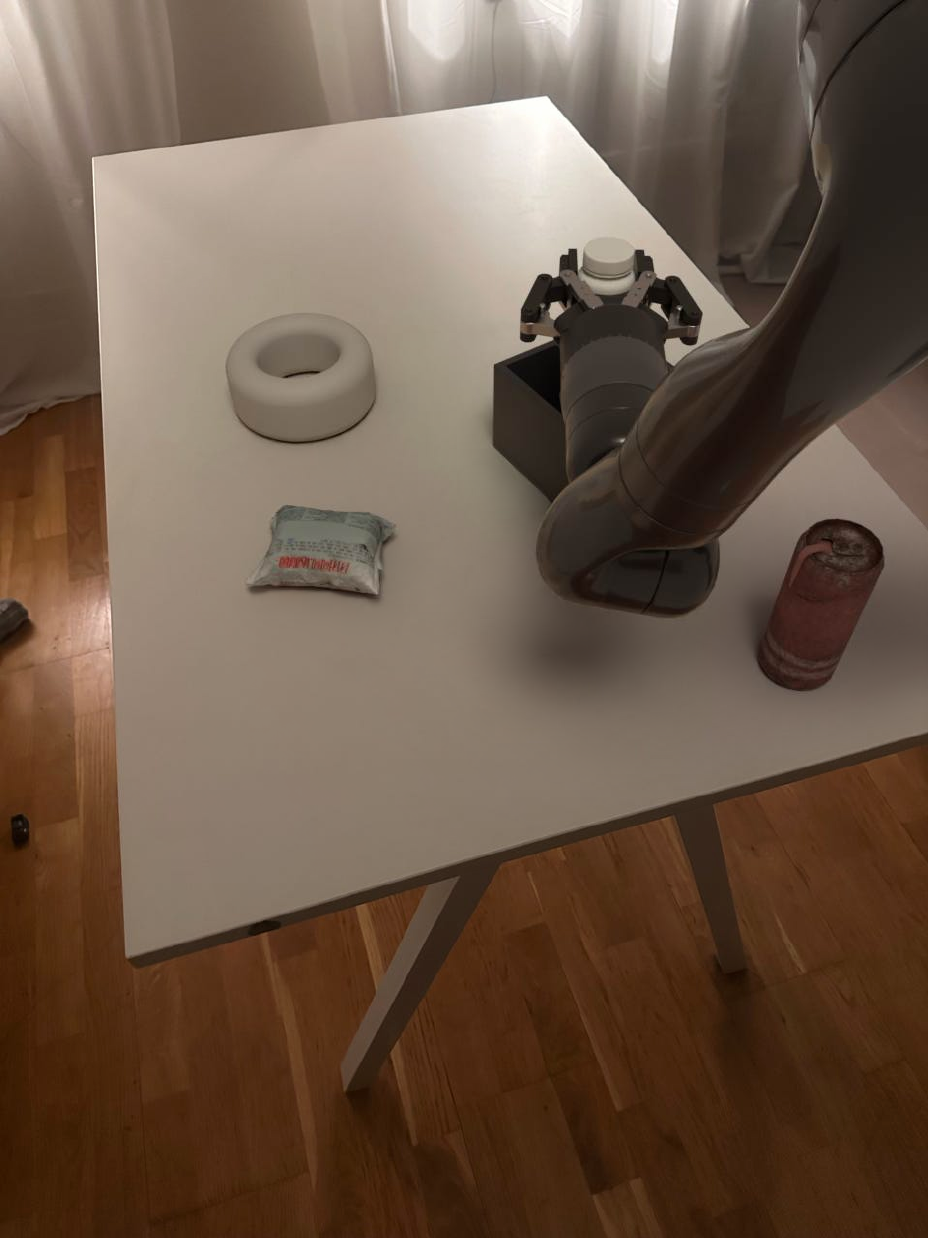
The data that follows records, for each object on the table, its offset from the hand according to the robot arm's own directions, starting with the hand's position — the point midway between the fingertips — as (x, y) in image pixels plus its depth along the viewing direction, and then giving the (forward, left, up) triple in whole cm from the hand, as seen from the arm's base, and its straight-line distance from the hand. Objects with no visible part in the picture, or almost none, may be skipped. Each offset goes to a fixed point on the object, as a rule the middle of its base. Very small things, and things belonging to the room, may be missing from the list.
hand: (604, 259), depth 78 cm
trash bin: (-1, 0, -22) cm, 22 cm away
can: (+1, +29, -22) cm, 37 cm away
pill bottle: (+2, +2, -6) cm, 7 cm away
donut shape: (+18, -24, -22) cm, 37 cm away
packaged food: (+28, -1, -22) cm, 36 cm away
